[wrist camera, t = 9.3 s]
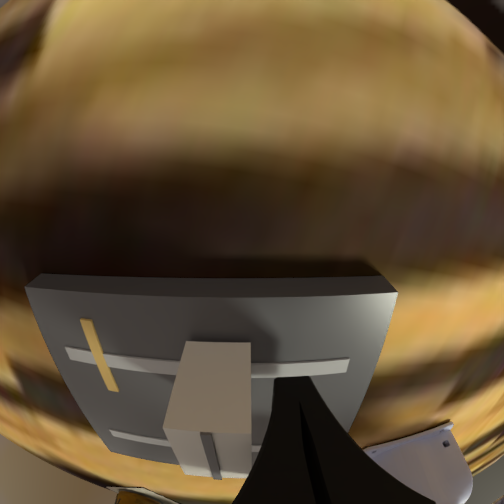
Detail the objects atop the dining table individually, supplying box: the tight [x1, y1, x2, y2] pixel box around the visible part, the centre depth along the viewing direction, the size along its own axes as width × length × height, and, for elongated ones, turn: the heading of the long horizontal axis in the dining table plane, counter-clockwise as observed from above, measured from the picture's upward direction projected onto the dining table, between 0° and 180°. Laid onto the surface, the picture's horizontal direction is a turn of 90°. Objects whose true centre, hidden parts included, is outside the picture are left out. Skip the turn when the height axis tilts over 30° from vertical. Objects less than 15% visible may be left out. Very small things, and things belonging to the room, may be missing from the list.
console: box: [25, 273, 398, 467], centre depth 13 cm, size 16×14×2 cm
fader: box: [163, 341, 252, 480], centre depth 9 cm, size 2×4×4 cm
